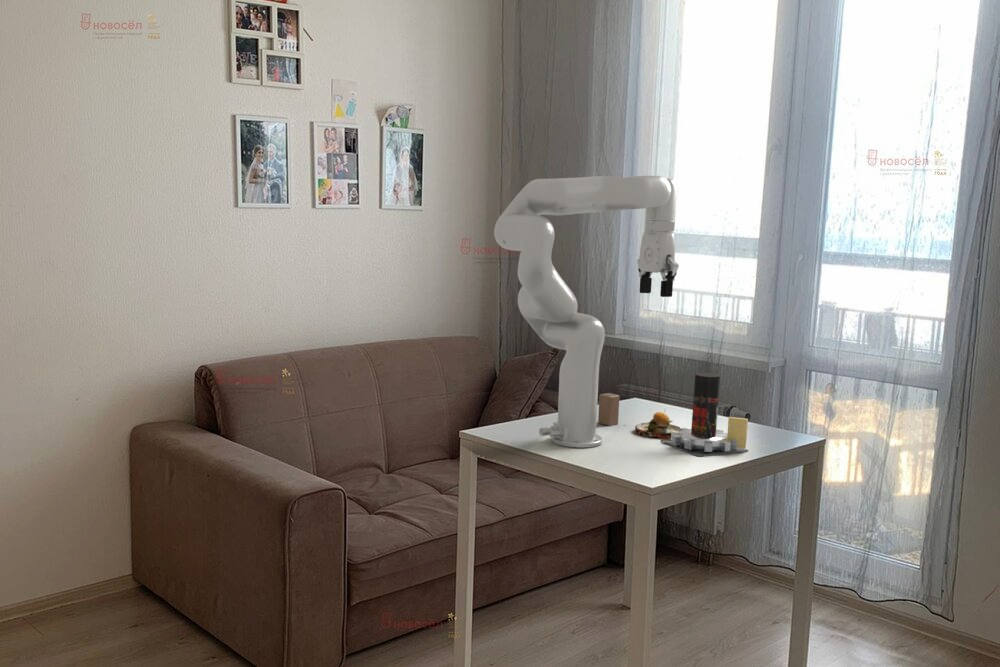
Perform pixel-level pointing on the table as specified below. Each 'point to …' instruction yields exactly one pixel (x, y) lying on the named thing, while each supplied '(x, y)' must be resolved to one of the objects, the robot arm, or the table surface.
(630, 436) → the table surface
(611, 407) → the wooden block
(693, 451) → the plate
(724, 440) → the sprocket
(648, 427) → the burger
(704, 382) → the deodorant
